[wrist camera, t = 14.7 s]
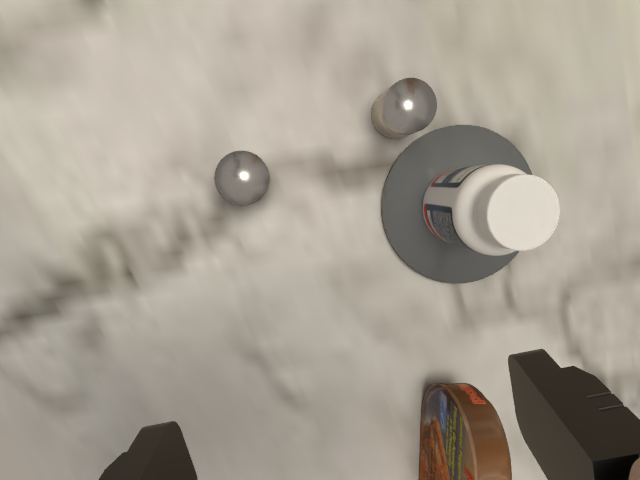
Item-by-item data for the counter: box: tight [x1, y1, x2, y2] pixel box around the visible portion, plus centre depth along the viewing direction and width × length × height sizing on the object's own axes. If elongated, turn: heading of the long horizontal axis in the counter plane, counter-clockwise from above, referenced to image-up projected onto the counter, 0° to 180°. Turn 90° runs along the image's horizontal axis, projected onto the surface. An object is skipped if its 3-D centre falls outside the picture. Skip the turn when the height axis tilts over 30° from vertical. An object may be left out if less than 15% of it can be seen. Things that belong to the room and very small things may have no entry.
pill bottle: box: [423, 164, 560, 256], centre depth 29 cm, size 5×5×9 cm
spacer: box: [371, 78, 437, 138], centre depth 31 cm, size 3×3×4 cm
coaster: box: [381, 125, 532, 283], centre depth 34 cm, size 11×11×1 cm
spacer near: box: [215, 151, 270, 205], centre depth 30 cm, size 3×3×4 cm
